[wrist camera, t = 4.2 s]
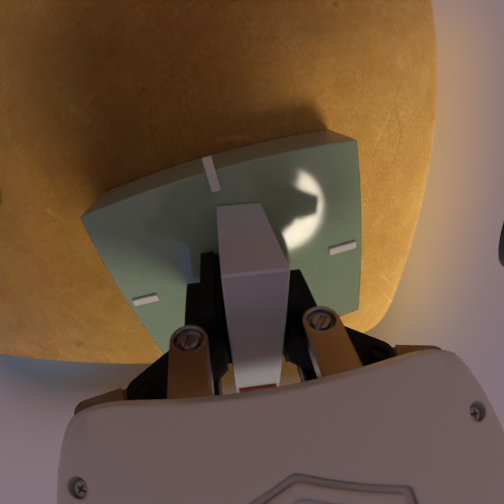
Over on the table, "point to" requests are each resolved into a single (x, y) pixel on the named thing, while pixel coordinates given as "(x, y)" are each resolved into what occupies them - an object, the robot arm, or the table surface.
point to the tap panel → (205, 223)
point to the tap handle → (253, 294)
